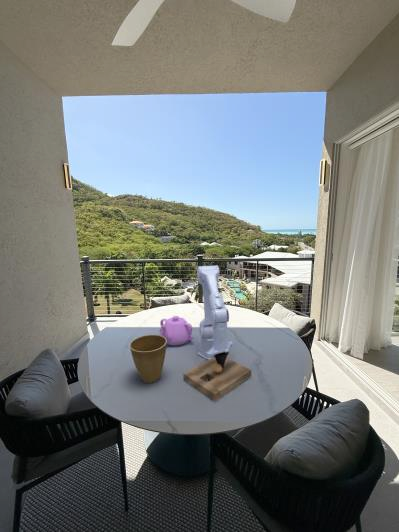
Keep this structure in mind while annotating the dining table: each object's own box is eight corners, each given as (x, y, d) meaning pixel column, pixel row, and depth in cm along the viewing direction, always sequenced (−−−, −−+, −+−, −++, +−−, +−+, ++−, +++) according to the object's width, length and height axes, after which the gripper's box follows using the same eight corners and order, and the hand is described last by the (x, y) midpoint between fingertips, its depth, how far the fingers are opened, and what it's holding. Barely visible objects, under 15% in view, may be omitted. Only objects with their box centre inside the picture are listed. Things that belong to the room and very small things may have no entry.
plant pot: (152, 364, 118) (150, 331, 115) (175, 376, 108) (174, 340, 106) (124, 379, 106) (122, 343, 104) (147, 394, 97) (145, 355, 94)
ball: (218, 364, 108) (214, 372, 107) (214, 361, 106) (210, 369, 105) (224, 367, 106) (221, 375, 104) (221, 363, 104) (217, 371, 102)
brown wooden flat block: (183, 380, 105) (183, 373, 105) (219, 360, 120) (219, 354, 120) (214, 401, 92) (214, 394, 92) (251, 376, 107) (251, 370, 107)
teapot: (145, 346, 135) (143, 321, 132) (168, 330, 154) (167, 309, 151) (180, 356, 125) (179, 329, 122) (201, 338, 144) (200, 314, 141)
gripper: (215, 346, 96) (215, 379, 98) (239, 334, 106) (239, 364, 108) (202, 340, 101) (203, 371, 103) (226, 329, 111) (226, 358, 113)
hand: (220, 367), depth 106 cm, fingers closed, pressing on ball
